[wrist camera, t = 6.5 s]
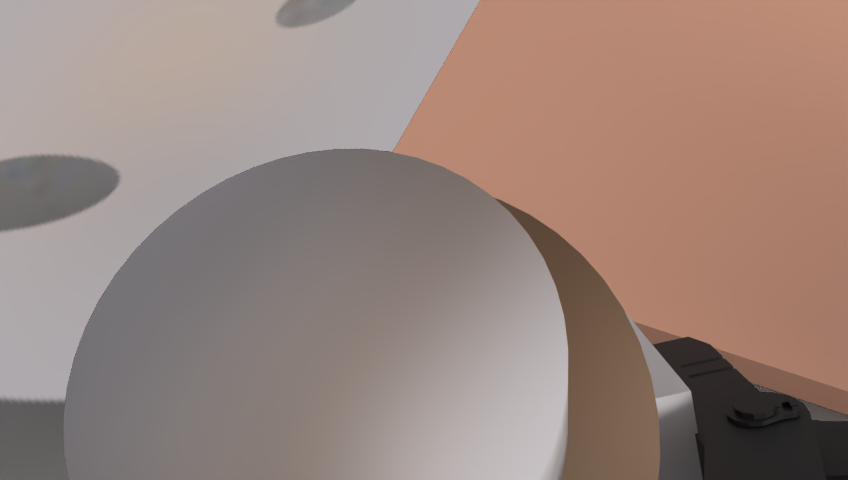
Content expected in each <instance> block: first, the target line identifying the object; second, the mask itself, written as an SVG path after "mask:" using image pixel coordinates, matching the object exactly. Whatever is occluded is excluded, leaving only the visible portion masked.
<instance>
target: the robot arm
mask: <svg viewBox="0 0 848 480" xmlns="http://www.w3.org/2000/svg"><path fill="white" fill-rule="evenodd" d="M626 315H627V314H626ZM627 317H628V319H629V321H630V323H631V325H632V327H633V329H634V331H635V333H636V335H637V337H638V339H639V341H640V344H641V347H642V351H643V354H644V357H645V360H646V363H647V366H648V369H649V372H650V375H651V378H652V383H653V389H654V394H655V400H656V405H657V410H658V416H659V437H660V467H659V477H658V480H848V421H843V422H837V421H818V420H812V419H811V415H810V412H809V411H808V409H807V408H806V406H805V405H804V404H803V403H802V402H800V401H798V400H796V399H794V398H792V397H790V396H786V395H782V394H777V393H773V392H760V391H759V390H758V389H757V388H755V387H754V386H753V385H752V384H751V383H750V382H749V381H748V380H747V379H746V378H745V377H744V376H743V375H742V374H741V373H740V372H739V371H738V370H737V369H736V368H735V369H734V368H733V366H732V365H731V364H730V363H729V362H728V361H727V360H726V359H723V356H722V355H721V354H720V353H719V352H718V351H717V350H716V349H715V348H714V347H713V346H712V345H710V344H708V343H705V342H702V341H700V340H697V339H694V338H691V337H684V338H679V339H675V340H670V341H666V342H661V343H657V344H651V343H650V341H649V340H648V339H647V338H646V337H645V335H644V334H643V333H642V332H641V331H640V329H639V328H638V327H637V326H636V325H635V323H634V322H633V321H632V320H631V319H630V317H629V316H628V315H627Z"/></svg>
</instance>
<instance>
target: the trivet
mask: <svg viewBox="0 0 848 480" xmlns="http://www.w3.org/2000/svg"><path fill="white" fill-rule="evenodd" d="M393 152H394V153H398V154H403V155H408V156H412V157H417V158H420V159H422V160H425V161H428V162H431V163H434V164H437V165H440V166H442V167H444V168H446V169H448V170H450V171H452V172H454V173H456V174H458V175H460V176H462V177H464V178H466V179H468V180H469V181H471V182H472V183H474V184H475V185H477V186H478V187H480V188H481V189H483V190H484V191H486V192H487V193H489V194H490V195H491V196H492V197H494V198H497V199H499V200H502V201H504V202H506V203H508V204H510V205H512V206H514V207H516V208H518V209H520V210H522V211H524V212H526V213H528V214H530V215H531V216H533V217H534V218H536V219H537V220H539V221H540V222H542V223H543V224H545V225H546V226H548V227H549V228H551V229H552V230H554V231H555V232H557V233H558V234H559V235H560V236H561V237H562V238H564V239H565V240H566V241H567V242H568V243H569V244H570V245H572V246H573V247H574V248H575V249H576V250H577V251H578V252H580V253H581V254H582V255H583V256H584V258H585V259H586V260H587V261H588V262H589V263H590V264H591V266H592V267H593V268H594V269H595V270H596V271H597V272H598V273H599V275H600V276H601V277H602V278H603V279H604V280H605V282H606V283H607V285H608V286H609V288H610V289H611V291H612V292H613V294H614V295H615V297H616V298H617V300H618V301H619V303H620V304H621V306H622V307H623V309H624V311H625V313H626V314H627V315H628V316H629V317H630V319H631V320H632V321H633V322H634V323H635V325H636V326H637V327H638V328H639V329H640V331H641V332H642V333H643V334H644V335H645V337H646V338H647V339H648V340H649V341H650V343H651V344H657V343H661V342H666V341H670V340H675V339H679V338H684V337H691V338H694V339H697V340H700V341H702V342H705V343H708V344H710V345H712V346H713V347H714V348H715V349H716V350H717V351H718V352H719V353H720V354H721V355H722V356H723V359H726V360H727V361H728V362H729V363H730V364H731V365H732V366H733V368H734V369H735V368H736V369H737V370H738V371H739V372H740V373H741V374H742V375H743V376H744V377H745V378H746V379H747V380H748V381H749V382H751V383H754V384H757V385H760V386H763V387H765V388H768V389H771V390H774V391H777V392H780V393H783V394H786V395H789V396H792V397H795V398H798V399H801V400H804V401H807V402H810V403H813V404H816V405H819V406H822V407H825V408H828V409H831V410H834V411H837V412H840V413H843V414H846V415H848V0H480V2H479V3H478V5H477V7H476V8H475V10H474V12H473V14H472V16H471V17H470V19H469V21H468V22H467V24H466V26H465V28H464V29H463V31H462V33H461V34H460V36H459V38H458V40H457V41H456V43H455V45H454V47H453V48H452V50H451V52H450V53H449V55H448V57H447V59H446V60H445V62H444V64H443V66H442V67H441V69H440V71H439V73H438V74H437V76H436V78H435V80H434V81H433V83H432V85H431V86H430V88H429V90H428V92H427V93H426V95H425V97H424V99H423V100H422V102H421V104H420V105H419V107H418V109H417V111H416V112H415V114H414V116H413V118H412V119H411V121H410V123H409V125H408V126H407V128H406V130H405V131H404V133H403V135H402V137H401V138H400V140H399V142H398V144H397V146H396V147H395V149H394V150H393Z"/></svg>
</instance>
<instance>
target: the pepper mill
mask: <svg viewBox="0 0 848 480" xmlns="http://www.w3.org/2000/svg"><path fill="white" fill-rule="evenodd" d="M63 429H64V455H65V461H66V468H67V474H68V480H658V477H659V467H660V437H659V416H658V410H657V405H656V400H655V394H654V389H653V383H652V378H651V375H650V372H649V369H648V366H647V363H646V360H645V357H644V354H643V351H642V347H641V344H640V341H639V339H638V337H637V335H636V333H635V331H634V329H633V327H632V325H631V323H630V321H629V319H628V317H627V315H626V313H625V311H624V309H623V307H622V306H621V304H620V303H619V301H618V300H617V298H616V297H615V295H614V294H613V292H612V291H611V289H610V288H609V286H608V285H607V283H606V282H605V280H604V279H603V278H602V277H601V276H600V275H599V273H598V272H597V271H596V270H595V269H594V268H593V267H592V266H591V264H590V263H589V262H588V261H587V260H586V259H585V258H584V256H583V255H582V254H581V253H580V252H578V251H577V250H576V249H575V248H574V247H573V246H572V245H570V244H569V243H568V242H567V241H566V240H565V239H564V238H562V237H561V236H560V235H559V234H558V233H557V232H555V231H554V230H552V229H551V228H549V227H548V226H546V225H545V224H543V223H542V222H540V221H539V220H537V219H536V218H534V217H533V216H531V215H530V214H528V213H526V212H524V211H522V210H520V209H518V208H516V207H514V206H512V205H510V204H508V203H506V202H504V201H502V200H499V199H497V198H494V197H492V196H491V195H490V194H489V193H487V192H486V191H484V190H483V189H481V188H480V187H478V186H477V185H475V184H474V183H472V182H471V181H469V180H468V179H466V178H464V177H462V176H460V175H458V174H456V173H454V172H452V171H450V170H448V169H446V168H444V167H442V166H440V165H437V164H434V163H431V162H428V161H425V160H422V159H420V158H417V157H412V156H408V155H403V154H398V153H394V152H389V151H378V150H368V149H333V150H324V151H316V152H307V153H303V154H299V155H294V156H289V157H285V158H281V159H278V160H274V161H271V162H269V163H265V164H262V165H259V166H256V167H253V168H251V169H249V170H247V171H244V172H242V173H240V174H237V175H235V176H233V177H231V178H229V179H226V180H225V181H223V182H221V183H219V184H218V185H216V186H214V187H212V188H210V189H209V190H207V191H205V192H203V193H202V194H200V195H199V196H197V197H196V198H195V199H193V200H192V201H190V202H189V203H187V204H186V205H184V206H183V207H182V208H180V209H179V210H177V211H176V212H175V213H174V214H173V215H171V216H170V217H169V218H168V219H167V220H166V221H164V222H163V223H162V224H161V225H160V226H159V227H157V228H156V229H155V230H154V231H153V232H152V233H151V234H150V236H148V237H147V238H146V239H145V240H144V241H143V243H141V245H140V246H139V247H138V248H137V249H136V250H135V251H134V252H133V253H132V254H131V256H130V257H129V258H128V259H127V261H126V262H125V263H124V265H123V266H122V267H121V268H120V270H119V271H118V272H117V273H116V275H115V276H114V278H113V279H112V281H111V282H110V284H109V286H108V287H107V289H106V290H105V292H104V293H103V295H102V297H101V298H100V300H99V301H98V303H97V305H96V307H95V309H94V311H93V313H92V315H91V317H90V319H89V321H88V324H87V325H86V327H85V330H84V333H83V336H82V338H81V341H80V343H79V346H78V349H77V352H76V354H75V357H74V361H73V365H72V369H71V373H70V377H69V382H68V386H67V393H66V400H65V409H64V418H63Z"/></svg>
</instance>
